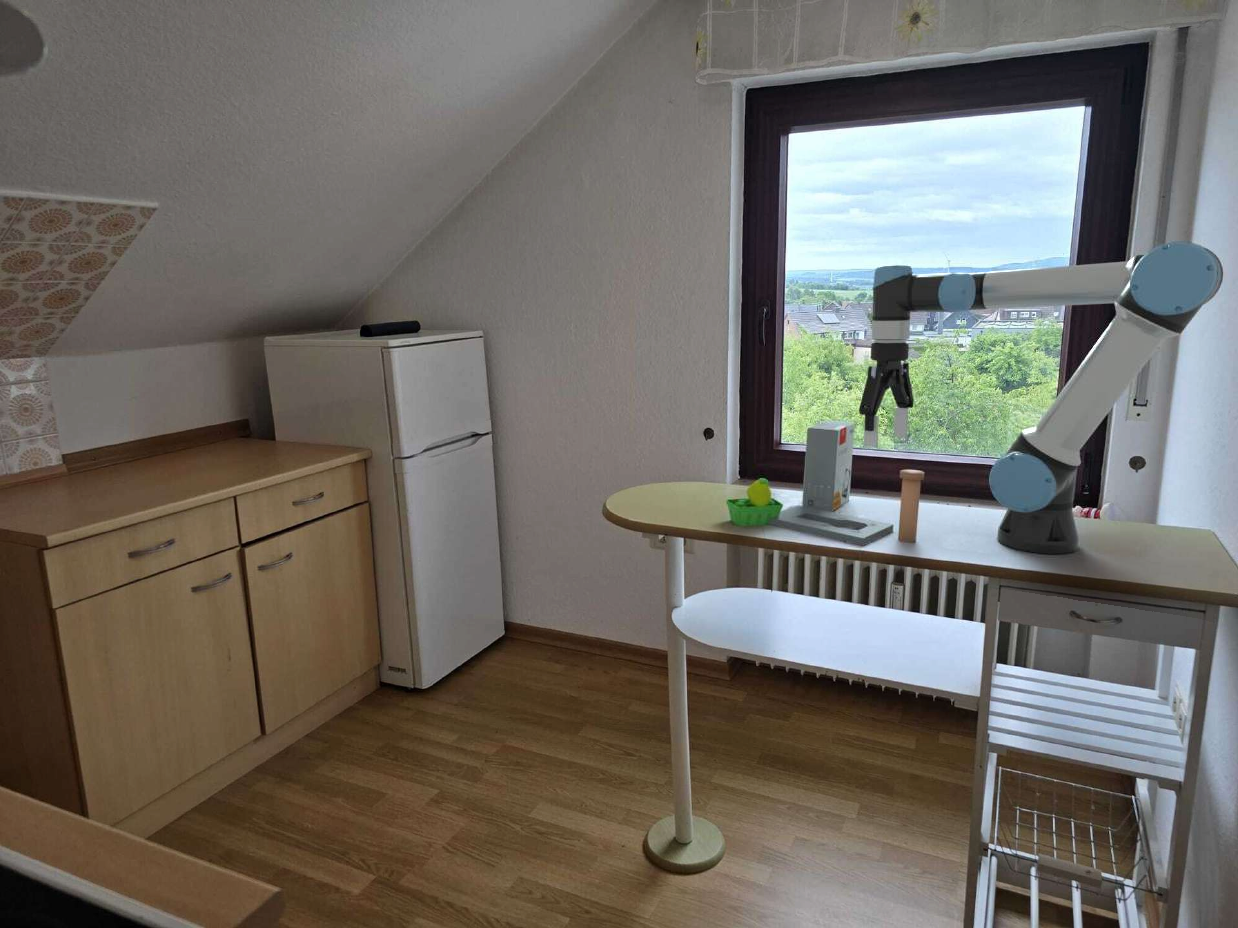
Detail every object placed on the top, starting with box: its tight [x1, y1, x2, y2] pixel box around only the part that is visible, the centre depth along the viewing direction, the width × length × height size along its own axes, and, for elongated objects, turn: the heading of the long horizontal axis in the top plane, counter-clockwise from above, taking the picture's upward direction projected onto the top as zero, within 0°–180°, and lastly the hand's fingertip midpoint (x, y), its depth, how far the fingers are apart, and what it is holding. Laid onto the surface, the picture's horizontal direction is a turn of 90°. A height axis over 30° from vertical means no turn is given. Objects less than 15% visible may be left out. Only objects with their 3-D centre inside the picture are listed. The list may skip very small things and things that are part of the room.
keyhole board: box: [767, 504, 894, 546], centre depth 187 cm, size 24×14×2 cm, turn 47°
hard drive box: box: [801, 419, 855, 512], centre depth 204 cm, size 16×8×20 cm, turn 150°
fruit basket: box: [725, 477, 784, 527], centre depth 190 cm, size 11×9×11 cm
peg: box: [897, 469, 925, 543], centre depth 176 cm, size 5×5×15 cm
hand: (885, 441), depth 179 cm, fingers open, 13 cm apart
